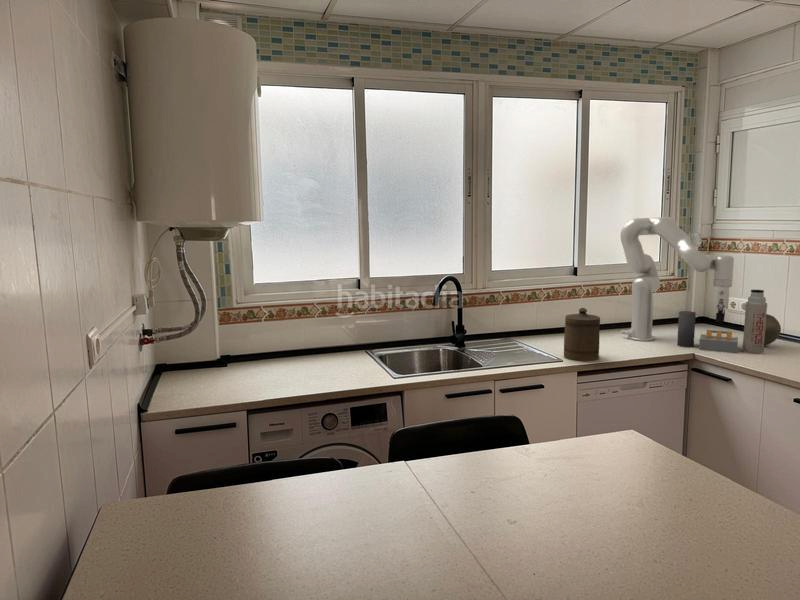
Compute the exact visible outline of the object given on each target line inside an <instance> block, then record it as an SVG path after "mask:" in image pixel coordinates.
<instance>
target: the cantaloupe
mask: <svg viewBox="0 0 800 600" xmlns="http://www.w3.org/2000/svg"><path fill="white" fill-rule="evenodd" d="M781 331H782V328H781V324H780V322H779V321H778V319H777V318H776V317H775V316H773V315H771V314H767V313H766V326H765V339H764V347H765V346H768V345H770V344H772V343H774V342H775V341H776V340H777V339H778V338H779V337H780V335H781Z"/></svg>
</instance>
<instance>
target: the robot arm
mask: <svg viewBox="0 0 800 600" xmlns="http://www.w3.org/2000/svg"><path fill="white" fill-rule="evenodd" d="M649 235H651V236H653V235H656V236H657V235H658V236H659V237H660V238H661V239H662V240H663V241H664V242H666V243H667V244H668V245H669V246H670V247H672V248H673V249H674V251H675V252H676V253H677V255H678V256H679V257H680V258H681V259H682V261H684V263H686V264H687V265H688V266H689V267H691V268H692V270H695V271H696V272H698V273H704V272H709V271H713V280H712V281H713V282H712V287H715V296H714V297H715V309H716V313H715V322H716V323H724V322H725V317H726V316H725V315H726V314H725V313H726V312H725V311H726V310H727V309H729V302H730V288H732V287H733V279H734V277H733V276H734V261H735V260H734V259H735V258H734V256H731V255H715V254H714V255H713V254H703V253H702V252H701V251H700V250H698V249H697V248H696V247H695V246H694V245H693V243H692V241H691V237H690V236H689V235H688V234H687V233H686V232H685V231H684V230H682V228H680V227H679V226H678V224H677V220H675V219H674V218H673V217H670V216H662V217H641V218H639V217H637V218H633V219H630V220H629V221H627V222H626V223H624V225H623V226H622V228H621V230H620V242H621V246H622V249H623V253H624V256H625V260H626V263H627V267H628V270H629V271H630V273H632V274H634V275H637V276H638V277H636V278H635V279H634V280H632V283H631V294H632V296H631V298H632V299H631V300H632V301H631V302H632V304H631V325H630V326H631V327H630V328H629V329H628V330H624V329H622V330H620V334H621V335H625V336H626V335H627V339H628V340H632V341H639V342H641V341H642V342H651V341H654V340H655V339H656V337H655V336H654V335H653V320H654V319H653V314H654V296H653V294H654V293H655V292H657V291H658V289H659V288H660V285H661V284H660V283H661V281H660V276H659V274H658V270H657V268H656V267H657V266H656V263H655V261H654V258H652V256H651V255H649V254H647V253H645V252H644V249H643V245H642V242H641V241H640V239H639V237H640V236H649ZM725 309H726V310H725Z"/></svg>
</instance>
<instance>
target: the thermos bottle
mask: <svg viewBox="0 0 800 600" xmlns="http://www.w3.org/2000/svg"><path fill="white" fill-rule="evenodd" d="M764 292H765V290H763V289H750V296H748V297H747V301H746V302H745V312H744V313H745V315H744V323H743V325H744V327H743V339H742V353H743V352H744V353H746V354H747V353H748V354H755V355H761V354H764V350H765V349H764V348H765V346H764V339H765V326H766V314H767V310H768V303H767V302H766V301H767V299H766V297H765V296H764V295H765V293H764Z"/></svg>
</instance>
